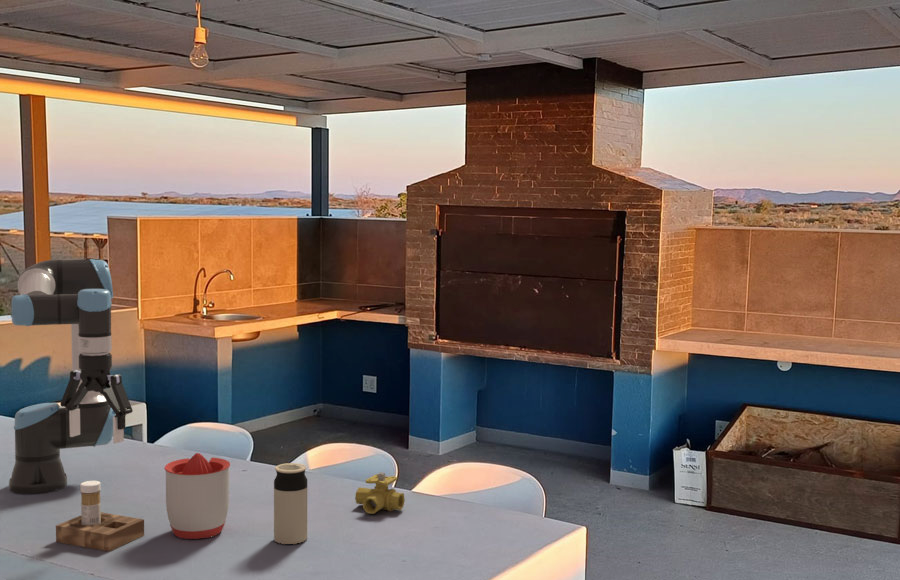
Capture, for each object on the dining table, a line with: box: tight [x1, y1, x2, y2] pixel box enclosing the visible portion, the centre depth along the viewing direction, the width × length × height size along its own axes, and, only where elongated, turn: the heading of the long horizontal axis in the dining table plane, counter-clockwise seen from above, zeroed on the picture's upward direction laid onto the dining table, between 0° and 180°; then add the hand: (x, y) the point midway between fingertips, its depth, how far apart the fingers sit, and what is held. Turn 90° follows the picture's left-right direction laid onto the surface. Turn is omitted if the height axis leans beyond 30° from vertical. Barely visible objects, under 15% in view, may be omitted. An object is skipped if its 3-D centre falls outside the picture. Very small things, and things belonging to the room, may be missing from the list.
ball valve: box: [354, 472, 406, 514], centre depth 249 cm, size 13×10×10 cm
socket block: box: [55, 511, 145, 553], centre depth 225 cm, size 16×12×4 cm
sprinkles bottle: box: [79, 480, 102, 525], centre depth 225 cm, size 5×5×13 cm
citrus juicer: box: [164, 452, 231, 540], centre depth 230 cm, size 16×17×20 cm
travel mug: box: [273, 462, 308, 545], centre depth 225 cm, size 8×8×18 cm
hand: (96, 439), depth 228 cm, fingers open, 13 cm apart
